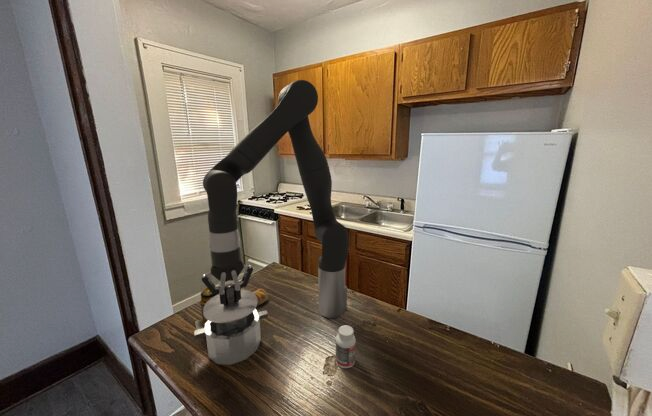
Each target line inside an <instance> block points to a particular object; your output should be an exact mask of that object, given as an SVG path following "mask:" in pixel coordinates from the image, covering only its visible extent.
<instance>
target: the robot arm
mask: <svg viewBox="0 0 652 416" xmlns="http://www.w3.org/2000/svg"><path fill="white" fill-rule="evenodd" d="M318 94H319V93H318V90H317V88H316V86H314V84H313V83H312V82H310V81H309V80H305V79H298V80H295V81H292V82H290V83H289V84H287V85H286V86H285V87H283V88H282V89H281V90H280V92H279V95H278V97H277V103H278V105H276V107H275V108H274V109H273V110H272V111H271V113H269V115H267V117H265V118H264V119H263V120H262V121H261V122H260V123H258V124H257V125H256V126H255V127H254V128H252V129H251V130H250V131H249V132H248V133H247V134H245V135H244V137H243V138H242V139H241V140H240V141H239V142H238V143H237V144H236V145H235V146H234V147H233V148H232V149H231V150H230V152H229V153H228V154H227V155H226V156H225V157H223V158H222V159H221V160H220V161H219V162H217V163H216V164H215V165H214V166H212V168H210V169H209V171H208V172H207V173H206V174H205V176H204V177H203V180H202V187H203V190H204V191H205V192H206V197H207V203H208V212H207V223H208V230H209V233H208V235H209V236H208V241H209V242H208V243H209V249H210V257H211V259H210V260H211V267H210V271H208V272H206V273H202V274H201V281H202V283H203V284H204V285H205V287H206V288H208V289H209V290H210V292H211V293H212V294H219V295H220V303H221V304H223V305H224V306H226V297H225V291H224V287H225V285H226V283H227V282H229V281H233V284H234V285H235V294H236V303H237V302H239V300H241V290H242V289H243V288H246V287H247V286H248V284H249V281H250V279H251V276H252V273H253V272H254V268H253V266H252V264H244V262H243V261H242V249H241V240H240V239H241V238H240V237H241V236H240V233H239V226H238V216H237V205H238V186H237V185H238V184H237V182H238V181H239V180H240V179H241V178H242V177H243V176H244V175H247V174H249V173H250V172H252V171H253V170H254V169H255V168H256V167H257V166H258V164H260V162H261V161H263V159H264V158H265V157H266V156H267V154H269V152H270V151H271V150H272V149H273V148H274V147H275V146H276V145H277V143H278V142H279V141H280V140H281V139H282V138H283V137H284V136H285V135H286V134H287V133H288V135H289V138H290V141H291V145H292V148H293V153H294V157H295V161H296V164H297V168H298V172H299V176H300V179H301V184H302V186H303V189H304V193H305V195H306V199H307V202H308V204H309V208H310V211H311V216H312V220H313V222H312V223H313V228H314V234H315V237H316V239H317V241H318V242H319V243H320V244H321V256H319V258H318V261H317V263H318V264H317V271H318V275H317V278H318V306H317V307H318V313H319V314H320V315H321V316H322V317H324V318H328V319H336V318H339V317H341V316H343V314H344V313H345V312H347V309H348V308H347V307H348V286H347V285H346V262H347V260H348V255H349V241H350V240H349V239H350V238H349V237H350V236H349V231H348V229H347V227H346V226H345V225H343V224H342V223H340V222H339V221H338V219H337V218H336V215H335V212H334V210H333V209H334V208H333V206H332V205H333V204H332V188H333V187H332V185H333V184H332V176H331V175H332V174H331V170H330V166H329V163H328V159H327V157H326V154H325V153H324V151H323V149H322V148H321V146H320V145H319V143H318V141H317V140H316V138H315V136H314V134H313V131H312V128H311V123H310V119H309V115H311V114H312V113H313V112H314V111H315V110H316V108H317V106H318V102H319V95H318ZM242 271H243V272H244V273H243V276H242V278H241V281H239V278H238V277H239V276H240V274H241V273H242ZM212 276H213V277H214V278H215V279H217V281H218V286H216V285H215V284H214V282H213V281H212V279H213V278H212Z"/></svg>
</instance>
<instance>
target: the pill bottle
mask: <svg viewBox="0 0 652 416" xmlns="http://www.w3.org/2000/svg"><path fill="white" fill-rule="evenodd" d="M354 332H355V331H354V328H353V327H352V326H351V325H345V324H344V325H341V326H340V327H338V333H337V334H336V336H335V354H334V355H335V362H336V365H337V366H338V367H339V368H342V369H350V368H353V366H354V365H355V362H356V348H357V347H356V343H357V340H356V336H355V335H354Z"/></svg>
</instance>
